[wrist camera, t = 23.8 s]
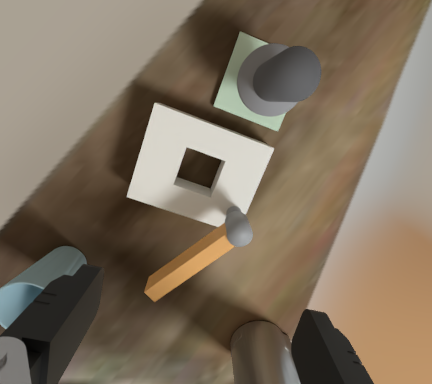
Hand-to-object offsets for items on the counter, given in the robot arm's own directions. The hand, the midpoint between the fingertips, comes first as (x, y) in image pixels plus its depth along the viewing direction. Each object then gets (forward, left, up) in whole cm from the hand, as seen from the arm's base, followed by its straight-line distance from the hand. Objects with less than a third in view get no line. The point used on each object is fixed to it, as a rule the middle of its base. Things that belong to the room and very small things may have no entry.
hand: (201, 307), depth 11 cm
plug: (-3, -12, -28) cm, 30 cm away
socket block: (0, +1, -29) cm, 29 cm away
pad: (-3, -12, -29) cm, 31 cm away
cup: (+14, +21, -29) cm, 38 cm away
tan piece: (-3, +9, -22) cm, 24 cm away
